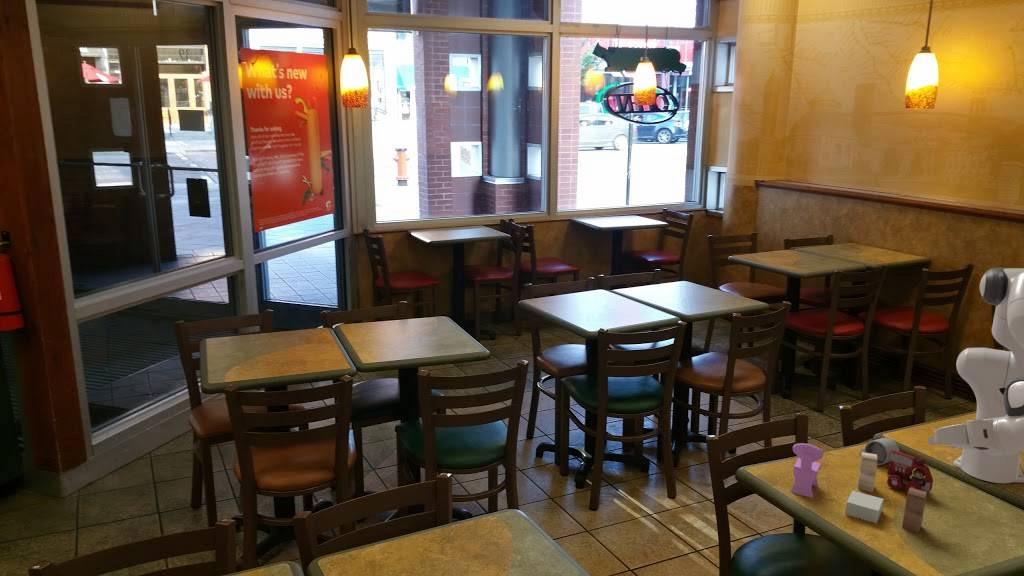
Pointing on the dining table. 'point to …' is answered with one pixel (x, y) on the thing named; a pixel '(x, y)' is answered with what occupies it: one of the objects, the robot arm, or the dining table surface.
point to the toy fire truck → (908, 472)
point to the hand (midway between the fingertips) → (940, 442)
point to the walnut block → (914, 510)
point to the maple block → (867, 471)
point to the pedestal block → (864, 506)
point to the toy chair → (806, 468)
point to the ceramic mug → (881, 449)
